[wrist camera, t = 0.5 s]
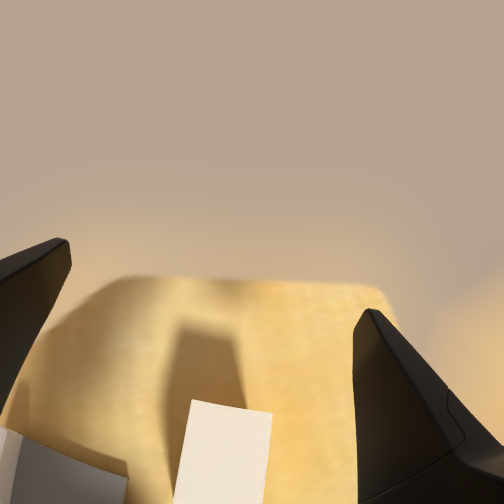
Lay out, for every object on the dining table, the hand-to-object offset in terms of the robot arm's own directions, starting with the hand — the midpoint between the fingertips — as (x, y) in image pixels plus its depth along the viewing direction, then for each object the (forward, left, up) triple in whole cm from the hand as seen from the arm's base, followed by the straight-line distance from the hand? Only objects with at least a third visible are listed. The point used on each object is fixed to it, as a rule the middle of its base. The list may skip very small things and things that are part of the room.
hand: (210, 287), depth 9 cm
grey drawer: (-12, +8, -16) cm, 21 cm away
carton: (-4, -2, -16) cm, 17 cm away
